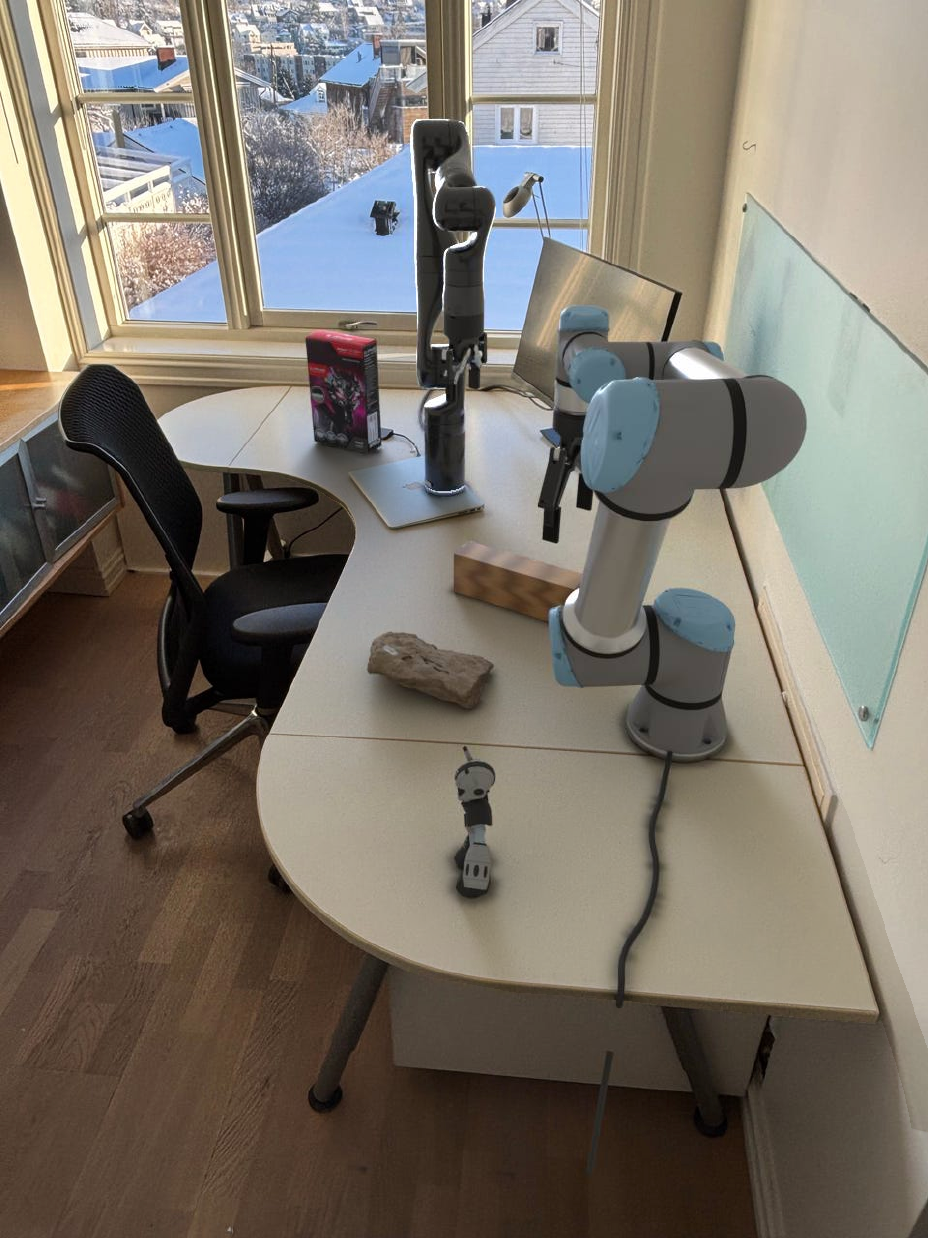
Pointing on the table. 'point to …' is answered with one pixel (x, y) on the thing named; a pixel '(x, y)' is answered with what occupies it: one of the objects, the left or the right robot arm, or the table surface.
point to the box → (512, 580)
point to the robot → (474, 825)
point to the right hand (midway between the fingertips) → (567, 524)
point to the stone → (429, 668)
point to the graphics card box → (344, 390)
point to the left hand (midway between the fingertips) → (462, 395)
